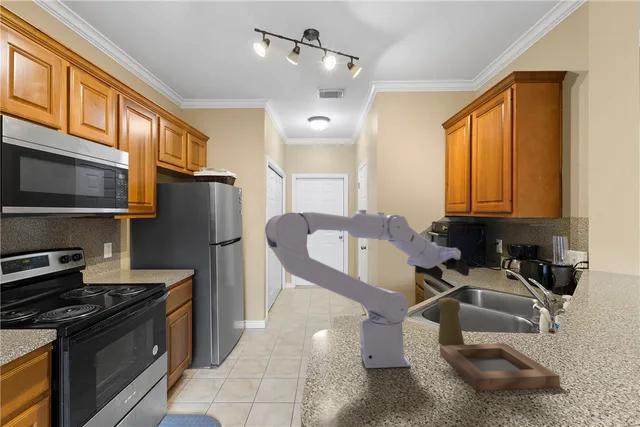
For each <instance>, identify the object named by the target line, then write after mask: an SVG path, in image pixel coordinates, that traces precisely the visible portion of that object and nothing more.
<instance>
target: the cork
mask: <svg viewBox="0 0 640 427" xmlns="http://www.w3.org/2000/svg"><path fill="white" fill-rule="evenodd" d="M437 308H438V310H439V312H440V314H439V325H438V326H439V327H438V328H439V329H438V344H439V345H440V346H446V345H465V341H464V335H463V331H462V326H461V321H460V316H459V312H460V310H461V304H460V302H459V300H458V299H456V298H452V297H441V298H439V299H438V301H437Z"/></svg>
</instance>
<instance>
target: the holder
mask: <svg viewBox="0 0 640 427" xmlns="http://www.w3.org/2000/svg"><path fill="white" fill-rule="evenodd" d="M439 355H440V356H441V357H442V358H443V359H444V361H446V362H447V363H448V364H449V365H450V366H451V367H452V368H453V369H454V370H455V371H456V372H457V373H458V374H459V375H460V376H461V377H462V378H463V379H464V380H465V382H467V383H468V384H469V385H470V386H471V388H473V389H474V390H475V391H477V392H478V391H481V390H482V391H499V390H500V391H501V390H502V391H503V390H506V391H507V390H522V389H523V390H524V389H526V390H527V389H549V388H551V389H552V388H561V381H560V375H559V374H558V373H556V372H554V371H552V370H551V369H549V368H547V367H546V366H544V365H542V364H541V363H539V362H537V361H536V360H534V359H533V358H530V357H529V356H527V355H525V354H524V353H522V352H521V351H519V350H517V349H516V348H514V347H512V346H510V345H509V344H507V343H505V342H501V343H499V342H498V343H497V342H495V343H479V344H478V343H477V344H476V343H475V344H474V343H473V344H464V345H446V346H443V345H439Z"/></svg>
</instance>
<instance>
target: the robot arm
mask: <svg viewBox="0 0 640 427" xmlns="http://www.w3.org/2000/svg"><path fill="white" fill-rule="evenodd" d="M318 230H319V231H338V232H340V231H342V232H347V233H348V234H349V235H350V236H351V237H352V238H356V239H371V240H378V241H382V240H383V241H385V240H386V241H388V242H389V243H390V244H392V245H393V246H395V248H397V249H398V250H400V251H401V252H403V253H404V254H406V255H407V256H408V258H407V261H406V262H407V265H409V266H410V267H415V273H416V274H423V275H427V276H432V277H434V278H437V279H442V278H443V273H444V271H443V270H442V269H441V268H440V266H438V265H440V264H442V263H444V262H446V265H445V266H446V267H445V269H446V270H451V271H455V272H456V273H459V274H460V275H462V276H465V277H468V276H469V273H470V268H469V266H468V265H467V264H466V262H465V260H464V259H463V255H462V254H461V253H462V252H461V249H460V248H459V247H446V246H445V247H444V246H440V245H438V243H437V242H435V241H432V242H431V241H429V240H428V239H427V238H426V237H424V236H423V235H422V234H420V233H419V232H417V230H415V229H413V228H412V227H410V225H409V222H408V220H407V219H406V217H405V216H404V215H402V216H401V215H399V214H389V215H386V214H385V213H384V212H380V211H379V212H377V213H371V212H367V210H366V209H358V211H355V212H353V213H352V214H350V215H349V216H346V215H338V214H337V215H336V214H330V213H323V212H315V211H304V212H293V211H291V212H286V213H283V214H280V215H279V214H277V215H274V216H272V217H271V218H270V219H268V221H267V223H266V224H265V228H264V231H265V232H264V233H265V238H266V243H267V245H268V246H269V248H270V249H271V250H272V252H273V253H274V255H275V256H276V257H277V259H278V261H279V263H280V264H281V266H282V267H283V268H284V270H285V271H286V272H287V273H289V275H292V276H295V277H297V278H299V279H302V280H304V281H306V282H310V283H311V284H314V285H316V286H317V287H321V288H324V289H325V290H328V291H330V292H332V293H335V294H337V295H339V296H342V297H344V298H347V299H349V300H352V301H354V302H356V303H359V304H360V305H362V306H363V307H364V309H365V310H366V311H367V312H368V314H367V316H368V318H366V319H361V320H360V321H359V340H360V346H359V349H360V356H361V359H362V361H363V363H364V366H365V367H364V368H366V369H380V368H381V369H382V368H401V367H402V368H404V367H411V363H410V361H409V359H407V357H406V355H405V354H404V352H405V351H404V350H405V349H404V334H403V333H404V332H403V323H404V319H405V318H406V316H407V315H408V312H409V309H410V308H409V307H410V306H409V300H408V299H407V298H408V297H406V295H404V294H403V293H402V292H400V291H394V290H390V289H387V288H383V287H380V286H377V285H371V284H369V283H367V282H364V281H363V280H360V279H358V278H355V277H353V276H351V275H349V274H347V273H346V272H343V271H342V270H338V269H337V268H334V267H332V266H330V265H327V264H325V263H324V262H321V261H318V260H316V259H314V258H312V257H310V253H309V250H308V235H309V236H310V235H313V234H314V233H315V232H317V231H318Z"/></svg>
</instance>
